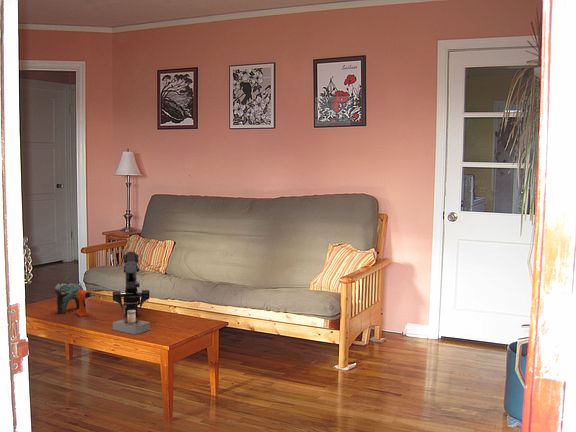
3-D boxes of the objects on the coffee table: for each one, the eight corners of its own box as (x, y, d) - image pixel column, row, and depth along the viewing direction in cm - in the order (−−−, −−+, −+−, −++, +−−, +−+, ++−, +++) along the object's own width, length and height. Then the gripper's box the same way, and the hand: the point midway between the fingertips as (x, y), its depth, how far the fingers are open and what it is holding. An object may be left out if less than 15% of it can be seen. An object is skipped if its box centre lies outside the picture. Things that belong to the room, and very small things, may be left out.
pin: (137, 329, 312) (136, 309, 311) (134, 331, 307) (134, 311, 307) (129, 328, 312) (128, 309, 311) (126, 330, 308) (126, 311, 307)
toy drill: (92, 318, 327) (90, 290, 327) (75, 316, 340) (73, 289, 340) (100, 316, 331) (98, 289, 331) (83, 314, 343) (81, 288, 343)
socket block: (127, 325, 318) (127, 318, 318) (150, 330, 310) (150, 322, 310) (112, 329, 309) (112, 322, 309) (135, 334, 301) (135, 326, 301)
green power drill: (61, 315, 339) (60, 279, 337) (52, 313, 342) (51, 278, 340) (86, 307, 357) (86, 274, 355) (78, 306, 360) (77, 273, 358)
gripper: (112, 276, 316) (112, 301, 306) (149, 274, 320) (150, 300, 311) (113, 287, 324) (112, 313, 314) (148, 286, 328) (149, 311, 319)
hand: (131, 309), depth 314 cm, fingers open, 9 cm apart
